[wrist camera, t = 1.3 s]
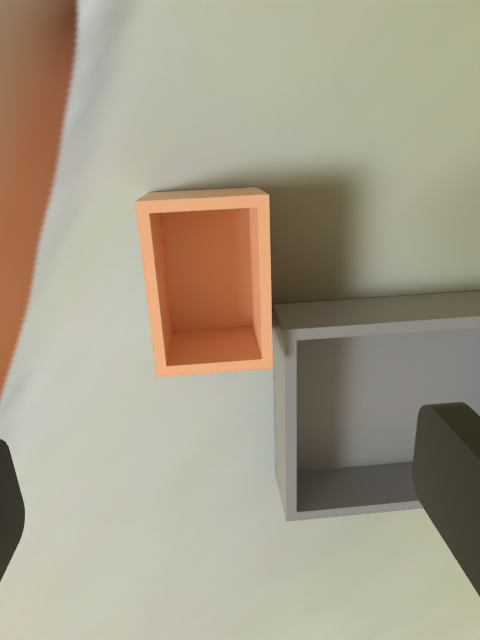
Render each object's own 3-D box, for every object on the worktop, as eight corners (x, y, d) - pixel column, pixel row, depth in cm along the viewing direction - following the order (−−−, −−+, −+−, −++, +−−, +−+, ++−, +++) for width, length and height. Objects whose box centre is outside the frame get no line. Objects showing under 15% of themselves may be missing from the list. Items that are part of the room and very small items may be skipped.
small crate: (148, 192, 23) (135, 201, 18) (255, 186, 23) (269, 194, 18) (165, 336, 25) (156, 376, 21) (260, 329, 26) (272, 367, 21)
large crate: (272, 304, 25) (284, 330, 22) (507, 288, 26) (558, 310, 22) (275, 475, 30) (286, 521, 26) (478, 456, 30) (517, 499, 27)
